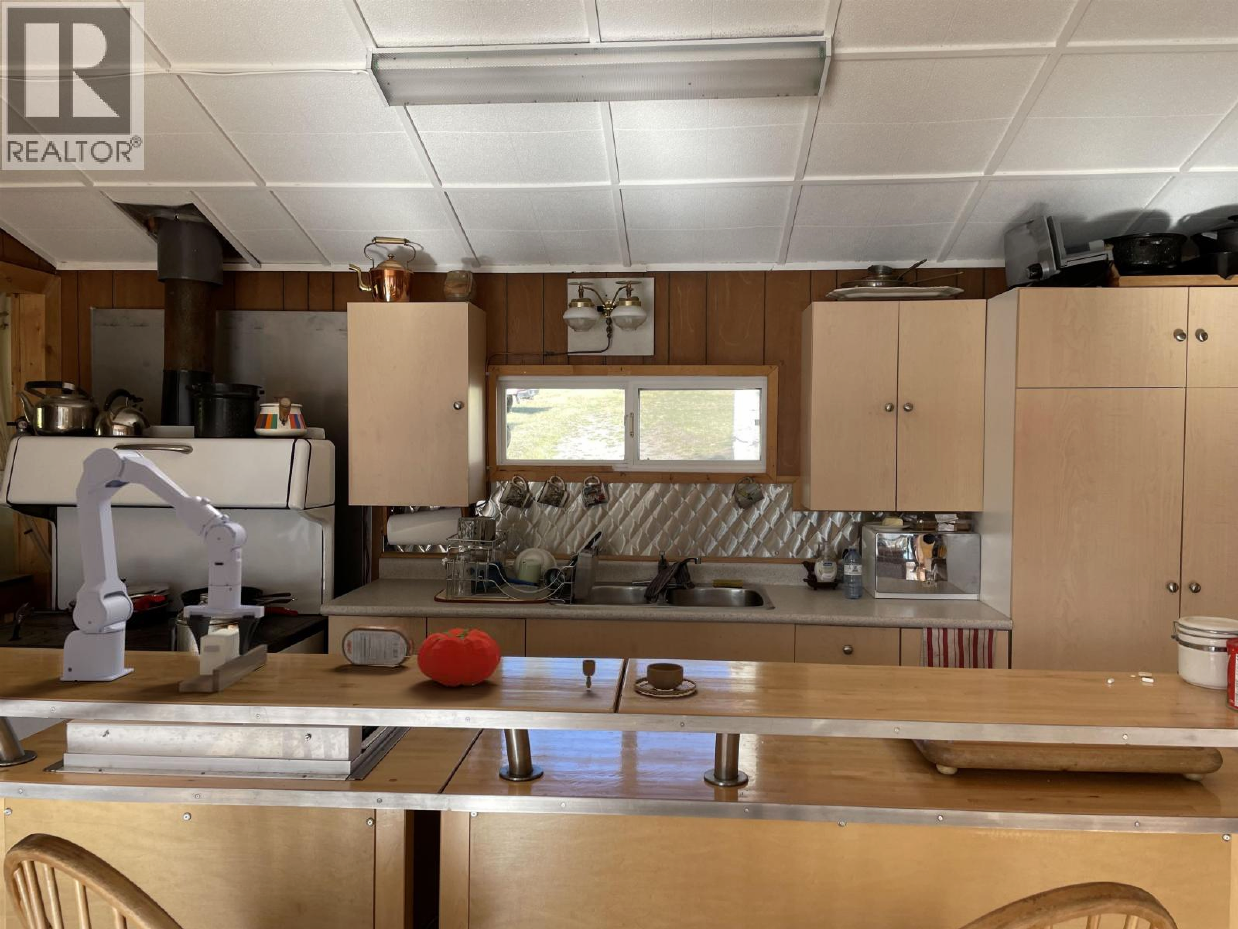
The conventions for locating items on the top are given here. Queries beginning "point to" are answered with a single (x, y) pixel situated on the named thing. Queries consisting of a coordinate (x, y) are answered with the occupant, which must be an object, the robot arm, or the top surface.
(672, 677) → the place setting
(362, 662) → the tin
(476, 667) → the tomato
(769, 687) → the top surface
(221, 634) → the cabinet block
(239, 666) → the ledge board
